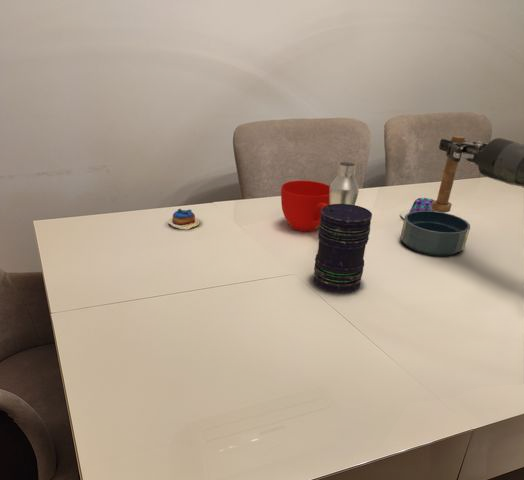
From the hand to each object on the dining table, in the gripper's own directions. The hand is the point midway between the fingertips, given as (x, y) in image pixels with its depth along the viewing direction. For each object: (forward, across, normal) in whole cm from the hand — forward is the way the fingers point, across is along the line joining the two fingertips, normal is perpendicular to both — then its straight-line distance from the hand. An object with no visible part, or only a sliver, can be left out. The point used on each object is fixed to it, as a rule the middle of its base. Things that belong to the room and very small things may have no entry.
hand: (446, 143), depth 111 cm
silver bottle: (+3, +25, +24) cm, 34 cm away
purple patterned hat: (+13, -12, +23) cm, 29 cm away
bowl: (-2, -1, +23) cm, 23 cm away
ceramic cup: (+18, +23, +23) cm, 37 cm away
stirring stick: (-3, 0, +14) cm, 14 cm away
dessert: (+32, +50, +24) cm, 64 cm away
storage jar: (-10, +33, +24) cm, 42 cm away
